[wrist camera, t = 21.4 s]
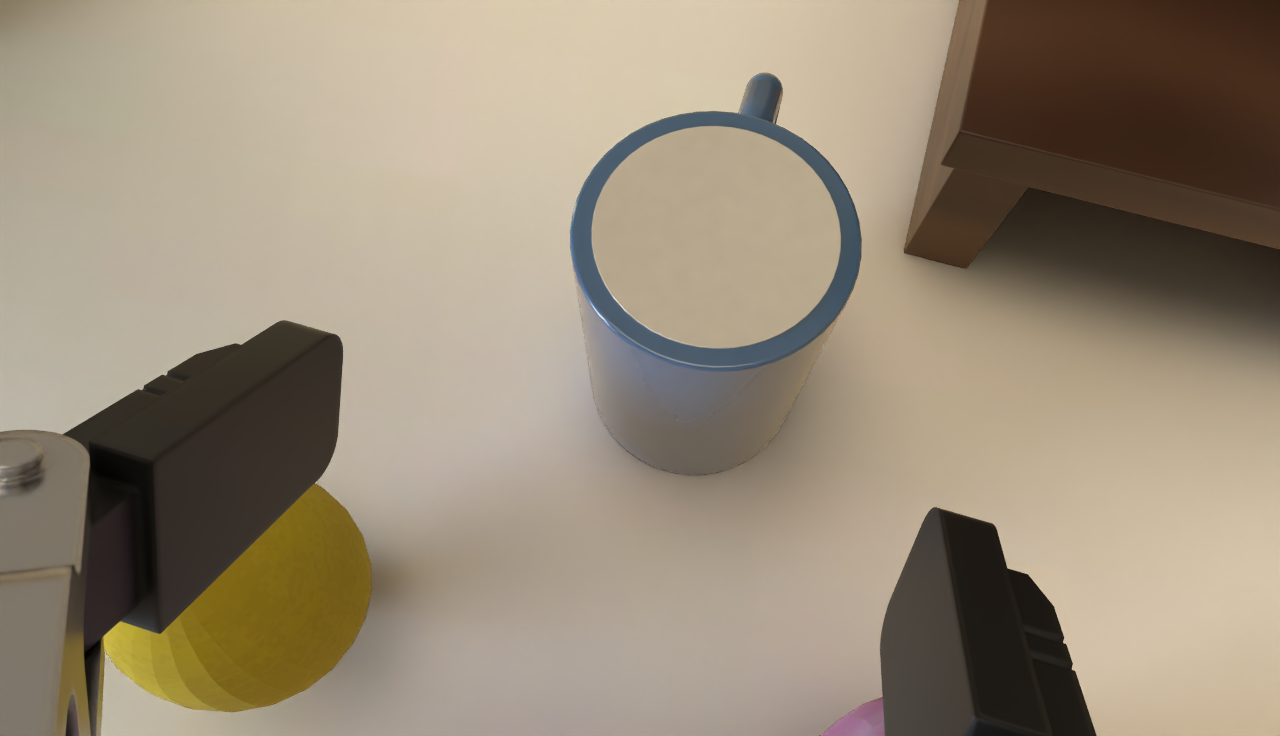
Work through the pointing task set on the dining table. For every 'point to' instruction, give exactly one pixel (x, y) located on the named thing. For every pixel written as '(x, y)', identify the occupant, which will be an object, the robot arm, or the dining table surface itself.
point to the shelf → (1105, 117)
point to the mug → (709, 280)
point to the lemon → (260, 617)
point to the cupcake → (860, 721)
